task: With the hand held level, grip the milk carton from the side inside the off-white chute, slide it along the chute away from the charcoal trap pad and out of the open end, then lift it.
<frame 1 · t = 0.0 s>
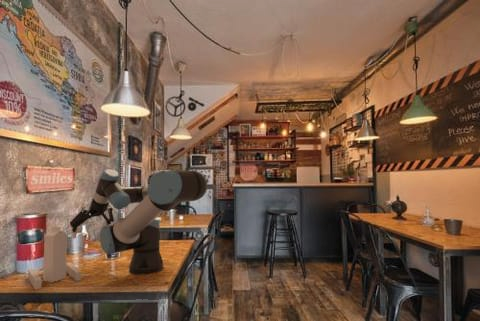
hand: (88, 234, 145), 15 cm above the table, tool tilted 35°, fingers open, 13 cm apart
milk: (54, 280, 124), on the table
chute: (54, 279, 124), on the table
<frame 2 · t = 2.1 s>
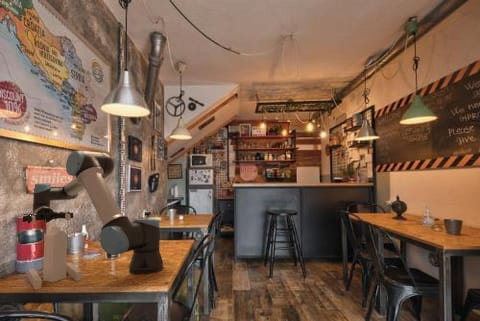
hand: (52, 218, 133), 25 cm above the table, tool horizontal, fingers open, 13 cm apart
nothing on the table moved.
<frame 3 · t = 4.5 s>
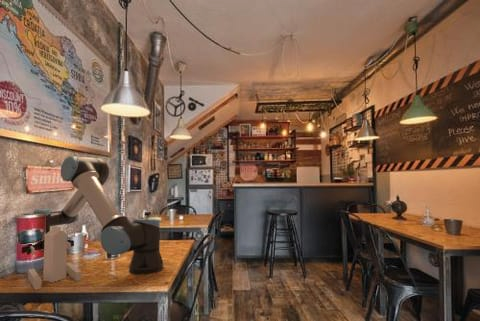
hand: (52, 249, 128), 12 cm above the table, tool horizontal, fingers open, 13 cm apart
nothing on the table moved.
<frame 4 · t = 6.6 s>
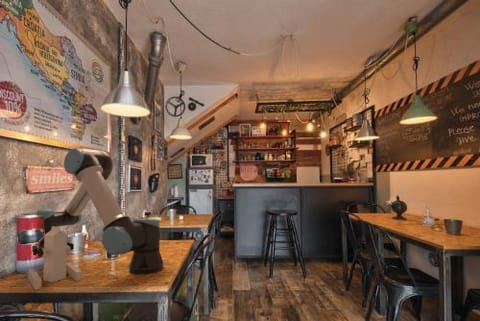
hand: (57, 252, 121), 12 cm above the table, tool horizontal, fingers closed on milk, 8 cm apart
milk: (54, 280, 124), on the table, touching gripper
everything else where it was.
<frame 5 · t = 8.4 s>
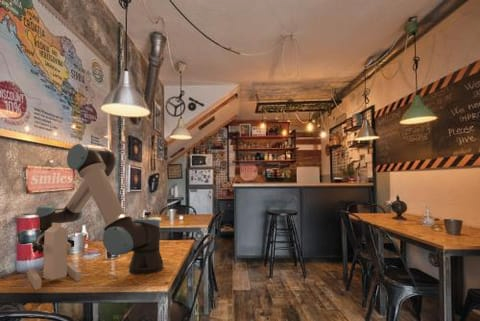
hand: (58, 249, 119), 14 cm above the table, tool horizontal, fingers closed on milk, 8 cm apart
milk: (55, 277, 122), point 2 cm above the table, touching gripper
everything else where it was.
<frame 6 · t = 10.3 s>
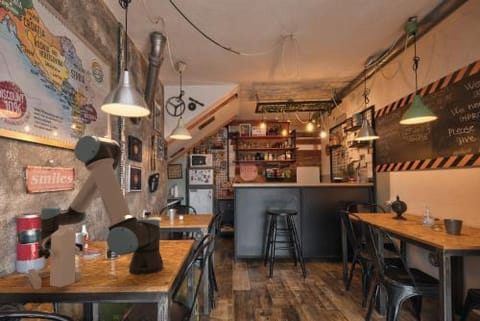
hand: (66, 253, 110), 14 cm above the table, tool horizontal, fingers closed on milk, 8 cm apart
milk: (62, 284, 113), point 2 cm above the table, touching gripper
everything else where it was.
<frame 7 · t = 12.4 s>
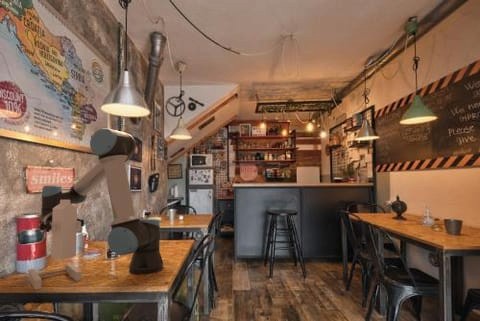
hand: (67, 226, 110), 24 cm above the table, tool horizontal, fingers closed on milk, 8 cm apart
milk: (63, 257, 113), point 12 cm above the table, touching gripper
everything else where it was.
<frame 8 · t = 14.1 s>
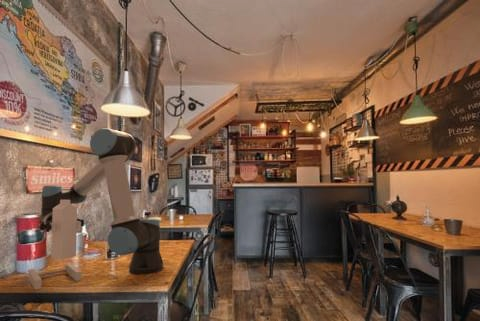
hand: (67, 226, 110), 24 cm above the table, tool horizontal, fingers closed on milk, 8 cm apart
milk: (63, 257, 113), point 12 cm above the table, touching gripper
everything else where it was.
at the end: the gripper is holding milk; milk point 11.7 cm above the table; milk inside the target area (1.2 cm from its centre), point 11.7 cm above the table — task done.
